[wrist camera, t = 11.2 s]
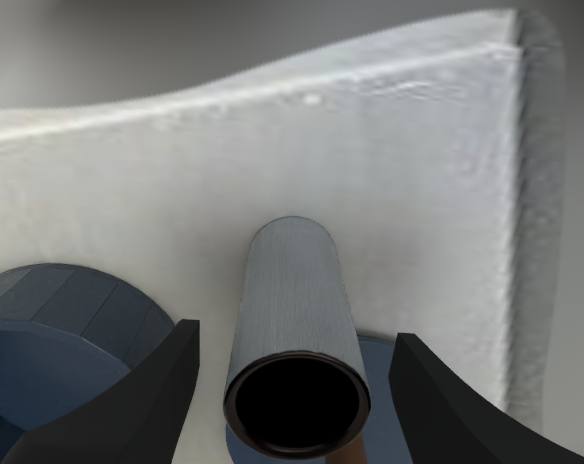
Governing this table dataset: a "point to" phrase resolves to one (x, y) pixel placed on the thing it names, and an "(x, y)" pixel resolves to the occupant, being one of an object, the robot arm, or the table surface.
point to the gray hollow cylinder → (295, 349)
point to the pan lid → (377, 432)
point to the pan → (67, 341)
